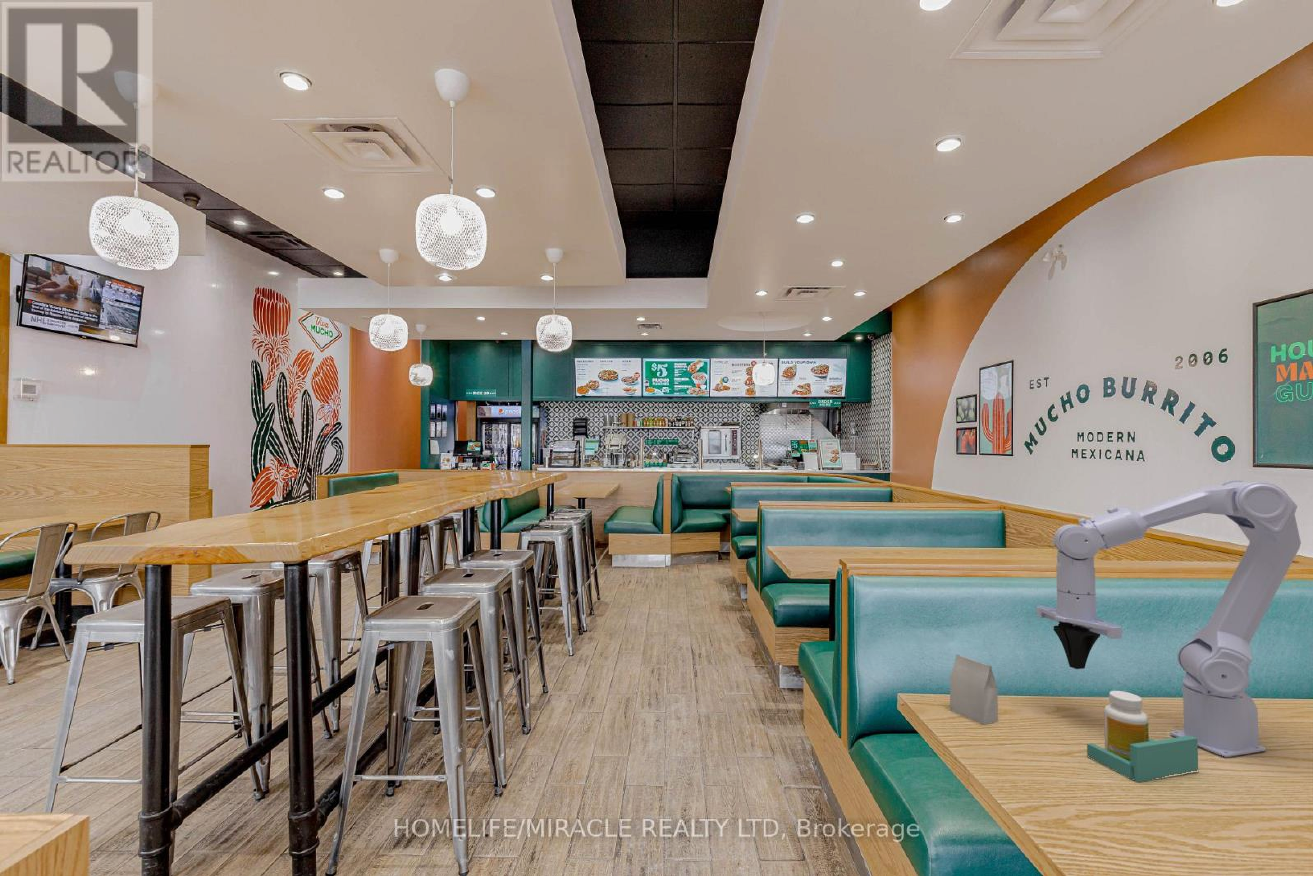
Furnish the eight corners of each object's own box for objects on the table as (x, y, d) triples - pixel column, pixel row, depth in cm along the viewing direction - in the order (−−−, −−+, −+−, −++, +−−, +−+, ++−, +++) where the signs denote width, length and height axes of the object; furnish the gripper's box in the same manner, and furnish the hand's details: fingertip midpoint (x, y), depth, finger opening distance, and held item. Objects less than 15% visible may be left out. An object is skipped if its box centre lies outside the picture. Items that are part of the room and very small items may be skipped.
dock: (1144, 748, 94) (1144, 717, 94) (1198, 772, 86) (1197, 738, 87) (1087, 756, 91) (1086, 724, 91) (1137, 782, 83) (1137, 747, 83)
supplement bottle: (1156, 770, 87) (1154, 705, 87) (1112, 763, 89) (1111, 699, 89) (1140, 753, 92) (1138, 691, 92) (1099, 747, 94) (1098, 686, 94)
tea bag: (984, 725, 101) (983, 667, 102) (950, 710, 107) (949, 655, 108) (997, 721, 103) (997, 665, 103) (963, 706, 109) (963, 653, 109)
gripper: (1023, 584, 110) (1024, 655, 110) (1098, 602, 96) (1100, 684, 96) (1052, 582, 112) (1053, 653, 112) (1130, 600, 98) (1132, 681, 98)
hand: (1077, 667), depth 104 cm, fingers closed
